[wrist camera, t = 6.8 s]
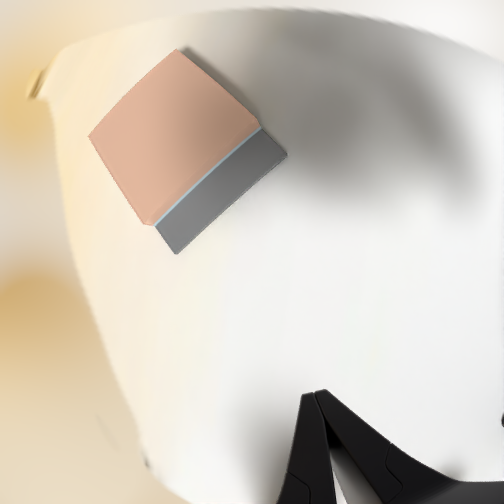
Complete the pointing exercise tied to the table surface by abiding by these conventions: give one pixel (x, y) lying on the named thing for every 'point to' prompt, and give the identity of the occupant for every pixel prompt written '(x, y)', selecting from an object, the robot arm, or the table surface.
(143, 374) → the table surface
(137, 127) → the tile
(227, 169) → the mat
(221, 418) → the table surface
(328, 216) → the table surface
